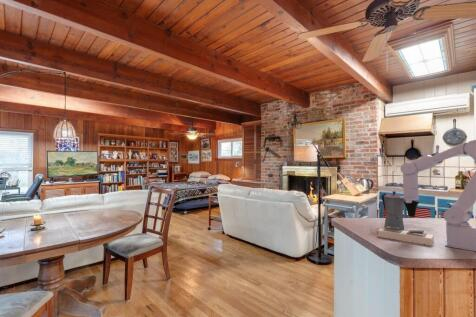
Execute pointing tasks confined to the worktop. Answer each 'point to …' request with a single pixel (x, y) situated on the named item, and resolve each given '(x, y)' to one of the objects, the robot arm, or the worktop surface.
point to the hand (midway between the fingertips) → (411, 216)
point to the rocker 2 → (416, 231)
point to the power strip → (406, 236)
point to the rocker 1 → (392, 228)
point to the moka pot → (393, 210)
